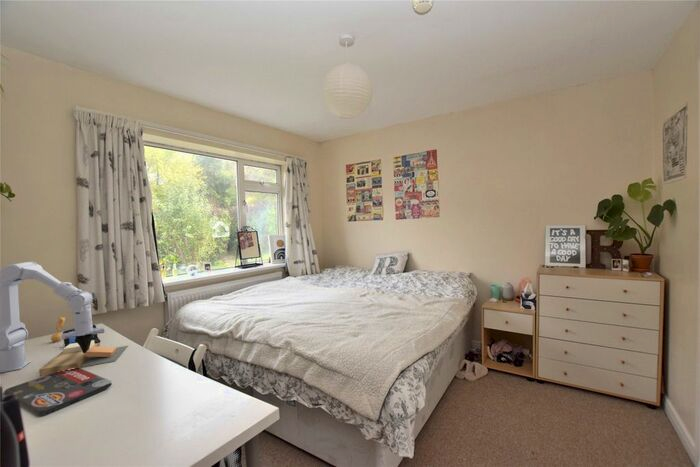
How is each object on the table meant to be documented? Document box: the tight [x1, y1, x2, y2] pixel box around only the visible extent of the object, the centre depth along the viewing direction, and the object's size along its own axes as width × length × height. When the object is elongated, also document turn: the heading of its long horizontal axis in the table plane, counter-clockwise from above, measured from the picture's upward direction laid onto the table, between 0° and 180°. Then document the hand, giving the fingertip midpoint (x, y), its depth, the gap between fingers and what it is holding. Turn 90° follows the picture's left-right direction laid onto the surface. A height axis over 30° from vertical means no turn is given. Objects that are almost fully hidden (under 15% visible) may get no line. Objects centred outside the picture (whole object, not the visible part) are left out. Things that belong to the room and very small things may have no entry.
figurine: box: [50, 316, 67, 343], centre depth 155 cm, size 8×6×12 cm
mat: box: [79, 345, 129, 369], centre depth 134 cm, size 12×17×1 cm
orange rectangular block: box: [85, 346, 117, 357], centre depth 133 cm, size 9×6×2 cm, turn 112°
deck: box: [38, 342, 101, 377], centre depth 131 cm, size 12×22×2 cm, turn 22°
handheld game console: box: [62, 324, 101, 348], centre depth 149 cm, size 12×11×7 cm
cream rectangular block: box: [62, 340, 95, 353], centre depth 137 cm, size 9×6×2 cm, turn 112°
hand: (86, 352), depth 131 cm, fingers closed
